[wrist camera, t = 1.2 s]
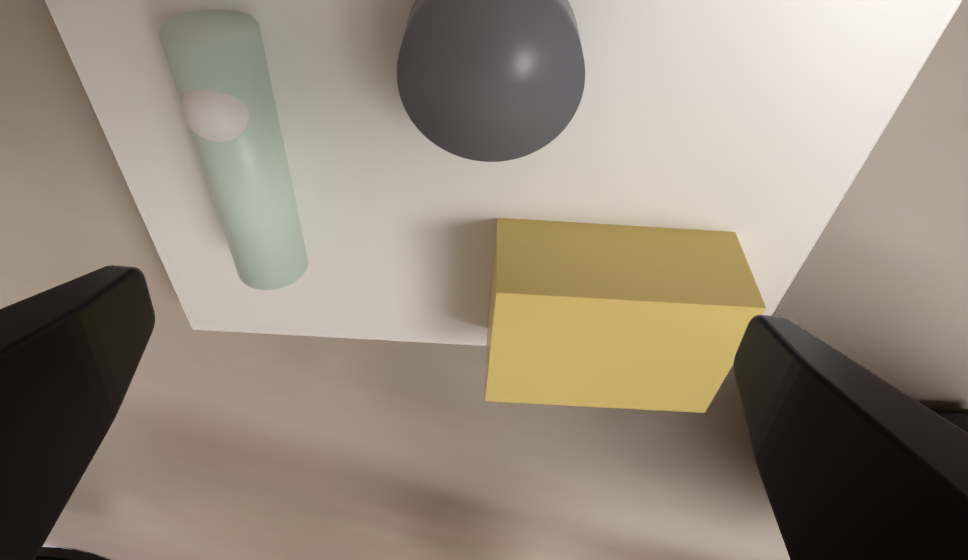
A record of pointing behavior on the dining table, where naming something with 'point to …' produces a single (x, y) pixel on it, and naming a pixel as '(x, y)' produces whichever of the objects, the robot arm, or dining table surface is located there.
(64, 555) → the french press
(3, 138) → the dining table surface
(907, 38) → the instrument board
